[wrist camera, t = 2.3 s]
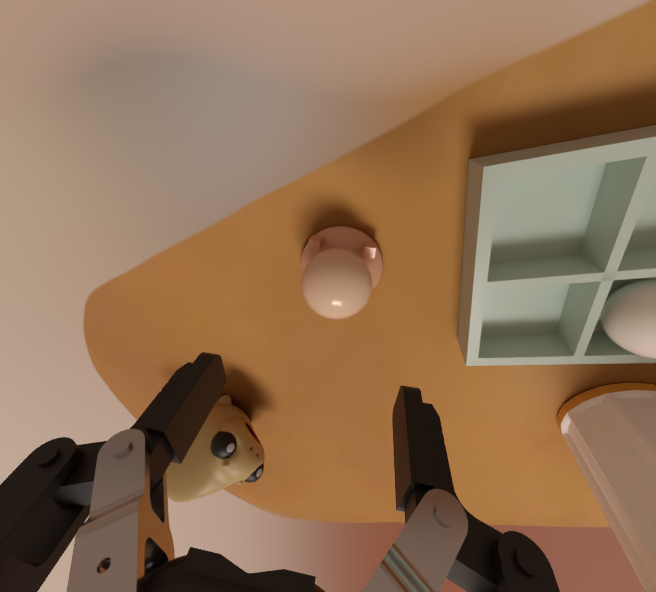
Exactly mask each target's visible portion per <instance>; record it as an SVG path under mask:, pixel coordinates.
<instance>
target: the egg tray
mask: <svg viewBox="0 0 656 592" xmlns="http://www.w3.org/2000/svg"><path fill="white" fill-rule="evenodd" d="M647 279H656V125H652V126H646V127H641V128H636V129H630V130H625V131H619V132H614V133H608V134H603V135H598V136H592V137H587V138H581V139H576V140H571V141H565V142H560V143H554V144H549V145H543V146H538V147H533V148H527V149H522V150H516V151H511V152H506V153H500V154H495V155H489V156H484V157H478V158H473V159H469V160H468V177H467V193H466V209H465V226H464V242H463V258H462V275H461V291H460V307H459V324H458V343H459V346H460V349H461V352H462V355H463V358H464V361H465V364H466V366H486V365H551V364H616V363H656V359H652V358H647V357H643V356H640V355H637V354H634V353H632V352H629V351H627V350H625V349H623V348H622V347H620V346H619V345H617V344H616V343H615V342H614V341H612V340H611V339H610V337H609V336H608V335H607V334H606V332H605V330H604V329H603V326H602V323H601V311H602V308H603V306H604V303H605V301H606V300H607V299H608V297H609V296H610V295H611V294H612V293H614V292H615V291H616V290H618V289H620V288H621V287H623V286H625V285H628V284H630V283H633V282H637V281H641V280H647Z"/></svg>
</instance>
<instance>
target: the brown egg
mask: <svg viewBox="0 0 656 592" xmlns="http://www.w3.org/2000/svg"><path fill="white" fill-rule="evenodd" d="M301 289H302V294H303V297H304V299H305V301H306V303H307V304H308V306H309V307H310V308H311V309H312V310H313V311H314V312H316V313H317V314H319V315H320V316H323V317H325V318H329V319H344V318H348V317H351V316H353V315H354V314H356V313H357V312H359V311H360V310H361V309H362V308H363V307H364V306H365V305H366V303H367V301H368V299H369V297H370V295H371V291H372V277H371V273H370V270H369V268H368V266H367V264H366V263H365V262H364V260H363V259H362V258H361V257H360V256H358V255H357V254H355V253H354V252H352V251H350V250H346V249H342V248H332V249H327V250H324V251H322V252H320V253H318V254H316V255H315V256H314V257H313V258H312V259H311V260H310V261H309V262H308V263H307V265H306V267H305V269H304V271H303V274H302V278H301Z"/></svg>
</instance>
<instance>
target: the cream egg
mask: <svg viewBox="0 0 656 592" xmlns="http://www.w3.org/2000/svg"><path fill="white" fill-rule="evenodd" d="M601 323H602V326H603V329H604V330H605V332H606V334H607V335H608V336H609V337H610V339H611V340H612V341H614V342H615V343H616V344H617V345H619V346H620V347H622V348H623V349H625V350H627V351H629V352H632V353H634V354H637V355H640V356H643V357H647V358H652V359H656V279H647V280H641V281H637V282H633V283H630V284H628V285H625V286H623V287H621V288H620V289H618V290H616V291H615V292H614V293H612V294H611V295H610V296H609V297H608V299H607V300H606V301H605V303H604V306H603V308H602V311H601Z"/></svg>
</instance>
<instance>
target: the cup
mask: <svg viewBox="0 0 656 592" xmlns="http://www.w3.org/2000/svg"><path fill="white" fill-rule="evenodd" d="M557 423H558V427H559V429H560V431H561V432H562V435H563V437H564V438H565V440H566V442H567V444H568V446H569V448H570V450H571V452H572V454H573V455H574V457H575V459H576V461H577V463H578V465H579V467H580V469H581V471H582V473H583V474H584V476H585V478H586V480H587V482H588V484H589V486H590V488H591V490H592V492H593V493H594V495H595V497H596V499H597V501H598V503H599V505H600V507H601V509H602V511H603V512H604V514H605V516H606V518H607V520H608V522H609V524H610V526H611V528H612V529H613V531H614V533H615V535H616V537H617V539H618V541H619V543H620V545H621V547H622V548H623V550H624V552H625V554H626V556H627V558H628V560H629V562H630V564H631V566H632V567H633V569H634V571H635V573H636V575H637V577H638V579H639V581H640V582H641V584H642V586H643V588H644V590H645V592H656V385H653V384H646V383H618V384H610V385H604V386H599V387H596V388H593V389H590V390H588V391H585V392H583V393H580V394H578V395H577V396H575V397H573V398H572V399H570V400H569V401H568V402H566V403H565V404H563V406H562V407H561V409H560V411H559V413H558V415H557Z"/></svg>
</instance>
